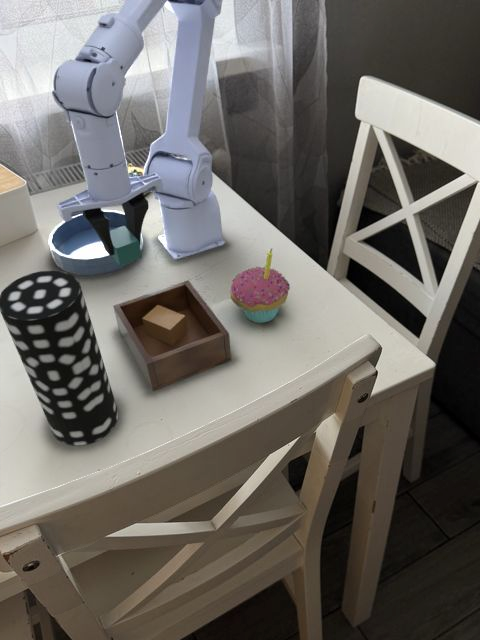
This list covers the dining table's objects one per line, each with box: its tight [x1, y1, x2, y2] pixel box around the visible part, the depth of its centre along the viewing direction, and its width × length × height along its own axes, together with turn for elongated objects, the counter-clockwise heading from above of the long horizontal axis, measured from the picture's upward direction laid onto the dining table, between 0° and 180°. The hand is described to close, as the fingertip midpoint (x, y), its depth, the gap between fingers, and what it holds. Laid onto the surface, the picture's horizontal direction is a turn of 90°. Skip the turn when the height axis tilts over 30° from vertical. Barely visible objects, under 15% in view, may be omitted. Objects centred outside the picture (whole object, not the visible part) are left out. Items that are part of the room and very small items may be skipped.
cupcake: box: [230, 247, 291, 324], centre depth 85 cm, size 9×8×12 cm
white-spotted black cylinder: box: [0, 270, 119, 446], centre depth 68 cm, size 8×8×20 cm
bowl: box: [47, 209, 144, 276], centre depth 102 cm, size 15×15×4 cm
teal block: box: [110, 226, 143, 266], centre depth 87 cm, size 4×5×3 cm
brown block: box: [142, 305, 188, 346], centre depth 85 cm, size 4×5×3 cm
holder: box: [112, 279, 232, 392], centre depth 83 cm, size 12×14×5 cm
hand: (123, 247), depth 87 cm, fingers closed on teal block, 3 cm apart
